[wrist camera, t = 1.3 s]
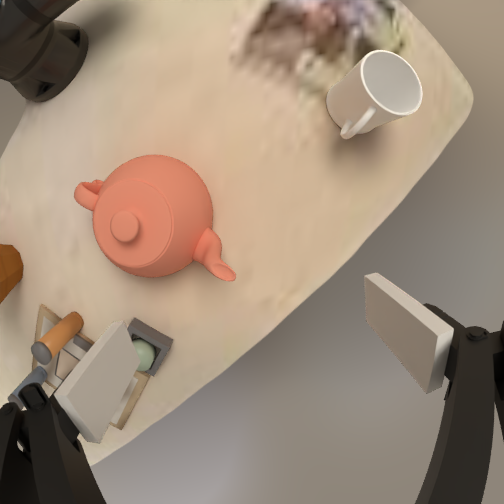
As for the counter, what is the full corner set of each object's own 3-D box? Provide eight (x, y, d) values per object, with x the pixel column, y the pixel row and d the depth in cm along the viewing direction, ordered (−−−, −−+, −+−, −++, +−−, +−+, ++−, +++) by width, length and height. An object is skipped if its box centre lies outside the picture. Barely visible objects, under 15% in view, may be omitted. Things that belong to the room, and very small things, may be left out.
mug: (347, 162, 36) (388, 154, 24) (300, 121, 35) (325, 95, 23) (388, 108, 34) (434, 88, 22) (346, 70, 33) (381, 36, 21)
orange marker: (66, 321, 40) (30, 355, 28) (70, 307, 40) (31, 339, 28) (82, 332, 41) (47, 369, 29) (86, 318, 40) (49, 354, 28)
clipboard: (33, 369, 43) (30, 372, 41) (42, 303, 39) (38, 306, 38) (122, 427, 46) (120, 432, 45) (150, 375, 43) (148, 380, 41)
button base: (121, 347, 41) (116, 355, 39) (134, 317, 40) (129, 324, 38) (157, 367, 42) (153, 376, 40) (173, 339, 41) (169, 347, 39)
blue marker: (35, 372, 42) (8, 402, 30) (36, 362, 41) (7, 393, 30) (47, 381, 42) (21, 413, 31) (48, 371, 42) (20, 405, 30)
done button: (127, 351, 40) (120, 361, 37) (135, 332, 39) (129, 342, 36) (150, 364, 40) (145, 375, 37) (160, 346, 40) (155, 357, 37)
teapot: (262, 200, 37) (273, 207, 25) (212, 298, 40) (201, 344, 28) (123, 135, 34) (78, 118, 22) (85, 233, 37) (36, 251, 25)
